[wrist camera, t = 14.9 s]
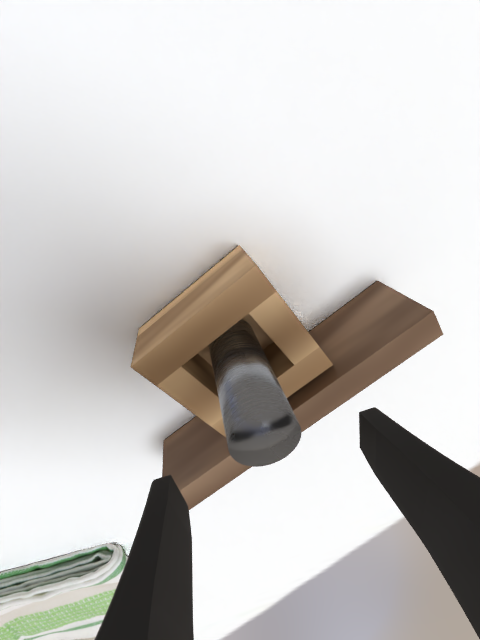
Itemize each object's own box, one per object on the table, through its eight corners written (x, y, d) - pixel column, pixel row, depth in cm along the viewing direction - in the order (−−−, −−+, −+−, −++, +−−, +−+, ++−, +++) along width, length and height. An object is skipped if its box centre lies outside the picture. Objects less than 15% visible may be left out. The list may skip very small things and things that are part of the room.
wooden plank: (163, 440, 23) (161, 504, 19) (377, 280, 20) (433, 311, 16) (181, 451, 24) (182, 514, 20) (387, 300, 21) (443, 334, 17)
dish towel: (124, 532, 28) (118, 577, 25) (169, 623, 39) (168, 662, 36) (-77, 584, 26) (-111, 640, 23) (30, 666, 37) (18, 711, 34)
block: (138, 328, 18) (130, 367, 15) (239, 245, 17) (256, 265, 13) (219, 396, 22) (228, 439, 18) (306, 331, 21) (333, 364, 17)
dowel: (200, 351, 19) (216, 460, 12) (219, 311, 18) (249, 405, 11) (241, 363, 20) (279, 470, 13) (262, 326, 19) (314, 420, 12)
